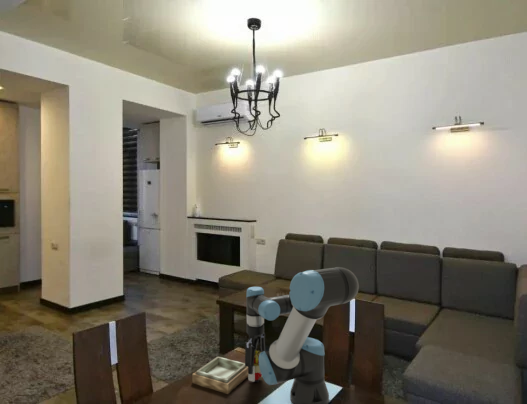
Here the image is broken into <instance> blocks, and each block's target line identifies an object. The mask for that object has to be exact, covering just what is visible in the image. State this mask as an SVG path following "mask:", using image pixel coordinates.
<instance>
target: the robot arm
mask: <svg viewBox="0 0 527 404" xmlns="http://www.w3.org/2000/svg"><path fill="white" fill-rule="evenodd" d="M359 288H360V285H359V279H358V278H357V276H356V275H355V273H354V272H352V271H351V270H349V269H348V268H345V267H341V266H336V267H329V268H322V269H321V268H320V269H315V270H314V269H308V270H307V269H306V270H305V271H302V272H301V271H300V272H298V273H297V274H295V275H294V276H293V277H292V279H291V281H290V284H289V290H290V291H289V294H285V295H278V296H272V297H270V296H269V297H268V296H265V290H264V288H263V287H261V286H250V287H248V288H246V296H245V298H246V303H245V304H246V305H245V306H246V315H245V316H246V334H247V335H248V342H247V341H245V342H244V347H245V351H244V352H245V353H244V363H245V366H247V367H248V377H247V380H248V381H250V382H252V383H255V382H254V381H255V366H254V358H255V351H258V350H259V352H261V353H260V354H259V355H258V353H259V352H258V353H257V355H258V356H259V367H260V372H258V373H260V374H262V377H261V378H263V381H264V382H265V384H267V385H268V386H272V385H278V384H281V383H285V382H288V381H293V383H292V385H291V388H290V394H289V397H290V402H291V403H292V404H329V402H330V395H329V394H330V393H329V390H328V387H327V384H326V381H325V355H326V354H325V346H324V343H323V342H321V341H320V340H319V339H317V338H313V337H309V335H310V333H311V331H312V329H313V327H314V325H315V323H316V322H317V320H320V319H322V318H323V317H324V316H325V315H326V313H327V311H328V310H329V308H330V307H333V306H338V305H343V304H348V303H349V302H351V301H352V300H354V299H355V298H356V297H357V295H358V293H359ZM287 314H289V315H288V317H287V319H286V322H285V324H284V326H283V328H282V330H281V332H280V334H279V337H278V339H276V340H274V341H273V342H272V343H271V344H270V345H269V348H268V350H266V333H265V320H267V321H274V320H276V319H277V318H279V316H283V315H287Z"/></svg>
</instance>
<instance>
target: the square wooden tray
mask: <svg viewBox="0 0 527 404" xmlns="http://www.w3.org/2000/svg"><path fill="white" fill-rule="evenodd" d="M246 379H248V367H247V366H245V362H241V361H238V360H232V359H229V358H226V357H222V356H216V357H215V358H213V359H212V360H211V361H209V362H208V363H206V364H204V365H203V366H202V367H200V368H199V369H198V370H196V371H195V372H193V373H192V384H194V385H197V386H200V387H203V388H205V389H206V388H207V389H210V390H213V391H217V392H219V393H222V394H226V395H229V394H230V393H231V392H232V391H233V390H235V389H236V388H237V387H238V386H239V385H241V383H242V382H243V381H245V380H246Z"/></svg>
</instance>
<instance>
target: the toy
mask: <svg viewBox="0 0 527 404" xmlns="http://www.w3.org/2000/svg"><path fill="white" fill-rule="evenodd" d="M258 352H259V350H258V351H255V358H254V366H255V381H254V382H253V383H259V382H260V378H263V377H262V374H260V373H258V372H260V367H259V356H258V355H259V354H260V353H261V352H259V353H258ZM257 353H258V355H257Z"/></svg>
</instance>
